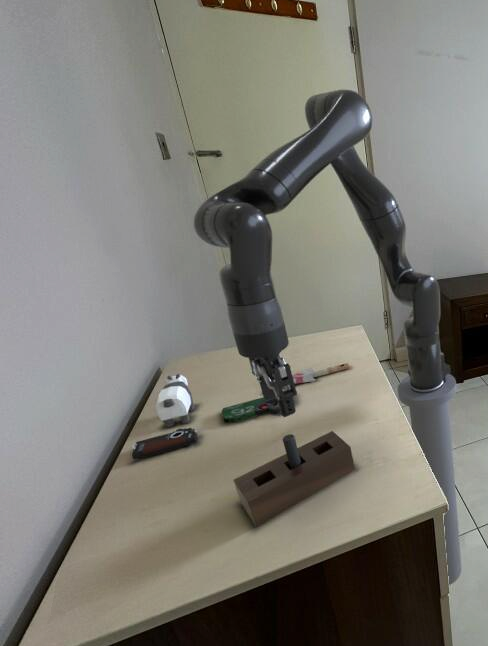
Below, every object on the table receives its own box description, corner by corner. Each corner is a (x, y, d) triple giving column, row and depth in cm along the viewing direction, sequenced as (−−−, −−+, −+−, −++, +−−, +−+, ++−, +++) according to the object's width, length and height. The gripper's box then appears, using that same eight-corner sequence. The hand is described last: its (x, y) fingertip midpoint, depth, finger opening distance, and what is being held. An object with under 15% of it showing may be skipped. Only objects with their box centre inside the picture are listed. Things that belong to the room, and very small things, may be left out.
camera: (136, 437, 91) (196, 422, 96) (140, 447, 91) (199, 431, 97) (130, 451, 85) (193, 434, 91) (134, 462, 86) (196, 444, 92)
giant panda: (190, 424, 99) (178, 391, 95) (162, 431, 97) (148, 397, 93) (199, 396, 111) (189, 366, 107) (174, 401, 108) (163, 371, 105)
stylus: (304, 480, 81) (291, 432, 77) (308, 485, 80) (295, 437, 76) (294, 486, 80) (280, 437, 75) (298, 491, 79) (284, 442, 74)
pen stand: (241, 503, 76) (232, 479, 74) (337, 452, 89) (332, 430, 87) (256, 527, 71) (247, 502, 69) (355, 469, 84) (350, 446, 82)
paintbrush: (274, 376, 115) (346, 359, 126) (276, 384, 115) (347, 367, 127) (276, 381, 112) (349, 364, 123) (278, 390, 113) (350, 371, 124)
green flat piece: (221, 426, 96) (221, 406, 103) (223, 431, 96) (223, 411, 104) (296, 405, 104) (291, 388, 112) (297, 409, 105) (292, 392, 112)
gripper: (299, 328, 65) (317, 411, 71) (267, 308, 74) (285, 384, 80) (247, 343, 60) (272, 431, 66) (219, 320, 69) (243, 399, 75)
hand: (279, 405), depth 73 cm, fingers open, 8 cm apart
